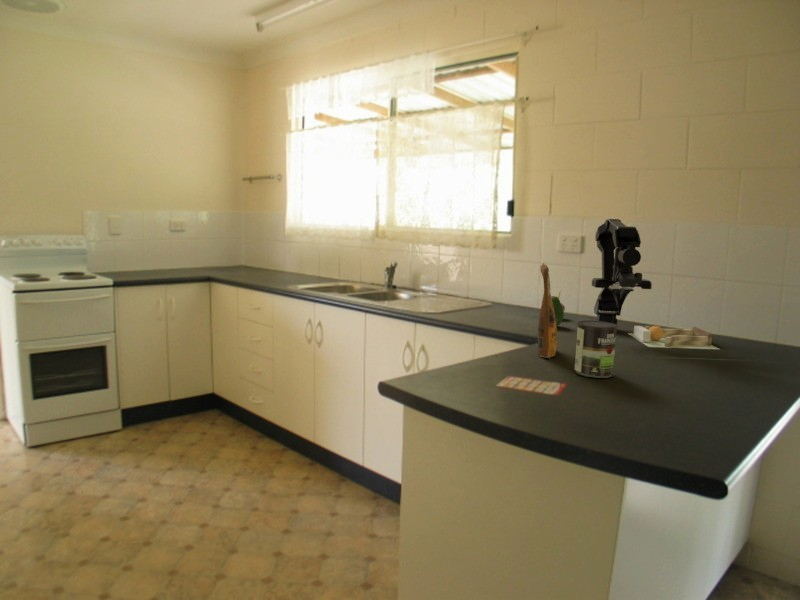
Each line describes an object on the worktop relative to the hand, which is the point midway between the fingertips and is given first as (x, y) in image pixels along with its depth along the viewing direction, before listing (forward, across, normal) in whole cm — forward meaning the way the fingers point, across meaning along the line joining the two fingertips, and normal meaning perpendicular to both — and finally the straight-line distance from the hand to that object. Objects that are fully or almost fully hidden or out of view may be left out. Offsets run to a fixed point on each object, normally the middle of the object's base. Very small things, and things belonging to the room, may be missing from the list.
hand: (619, 308), depth 201 cm
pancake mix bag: (+12, -29, -23) cm, 39 cm away
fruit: (+12, -18, +21) cm, 30 cm away
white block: (+11, +8, 0) cm, 14 cm away
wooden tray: (+11, +21, 0) cm, 24 cm away
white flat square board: (+11, +18, 0) cm, 22 cm away
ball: (+8, +13, 0) cm, 15 cm away
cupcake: (+12, -14, +39) cm, 43 cm away
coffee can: (+12, -20, -45) cm, 51 cm away
